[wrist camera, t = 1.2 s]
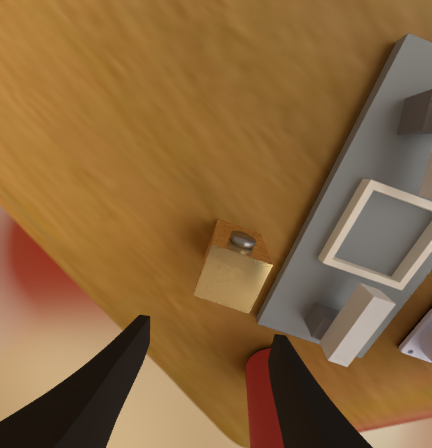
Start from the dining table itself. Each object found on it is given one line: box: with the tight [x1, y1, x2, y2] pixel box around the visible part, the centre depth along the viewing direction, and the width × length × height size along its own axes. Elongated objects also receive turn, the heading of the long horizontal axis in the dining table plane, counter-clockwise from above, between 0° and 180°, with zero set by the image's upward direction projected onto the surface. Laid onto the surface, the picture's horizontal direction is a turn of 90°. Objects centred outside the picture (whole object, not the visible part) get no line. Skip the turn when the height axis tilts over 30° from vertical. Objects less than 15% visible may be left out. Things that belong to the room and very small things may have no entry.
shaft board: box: [256, 33, 432, 367], centre depth 16 cm, size 12×26×5 cm, turn 162°
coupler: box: [194, 220, 273, 314], centre depth 17 cm, size 4×6×6 cm
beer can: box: [245, 348, 284, 448], centre depth 19 cm, size 7×7×12 cm
